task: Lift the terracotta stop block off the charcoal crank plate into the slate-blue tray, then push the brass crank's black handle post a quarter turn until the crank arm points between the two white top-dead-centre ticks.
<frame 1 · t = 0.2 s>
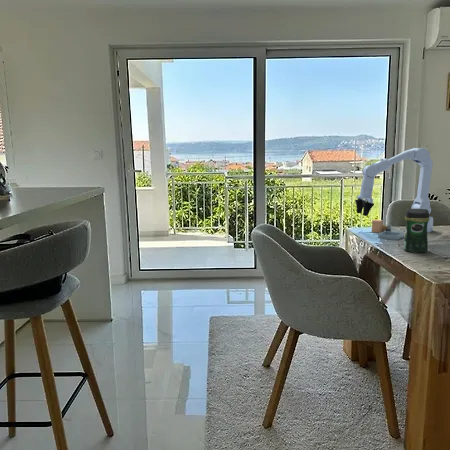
hand: (362, 214, 208), 10 cm above the table, tool pointing down, fingers open, 7 cm apart
crank: (382, 226, 210), point 4 cm above the table, hinge at 0.0°
tray: (390, 239, 195), on the table
stop block: (377, 231, 209), point 1 cm above the table, touching crank plate
coffee jar: (415, 251, 174), on the table
crank plate: (387, 233, 208), on the table
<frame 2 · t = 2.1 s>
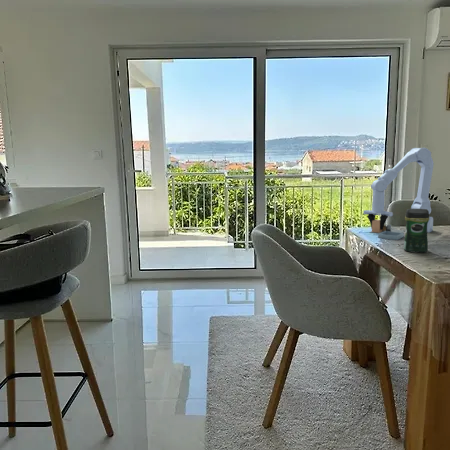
hand: (377, 228, 208), 3 cm above the table, tool pointing down, fingers closed on stop block, 4 cm apart
stop block: (377, 231, 209), point 1 cm above the table, touching crank plate, gripper
everything else where it was.
when the fingers open (4 cm above the table, at t = 5.6 s): stop block drops 2 cm, resting on tray.
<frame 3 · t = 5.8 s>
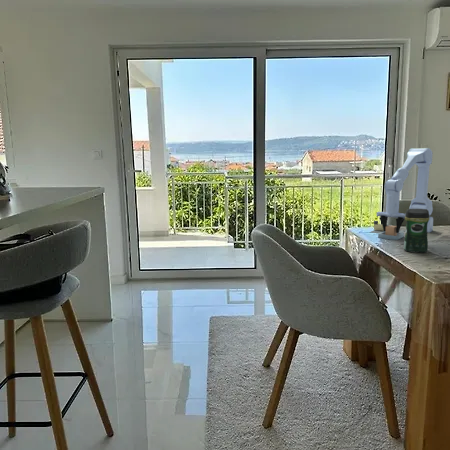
hand: (391, 231, 195), 4 cm above the table, tool pointing down, fingers open, 5 cm apart
stop block: (390, 238, 195), point 1 cm above the table, touching tray
everything else where it was.
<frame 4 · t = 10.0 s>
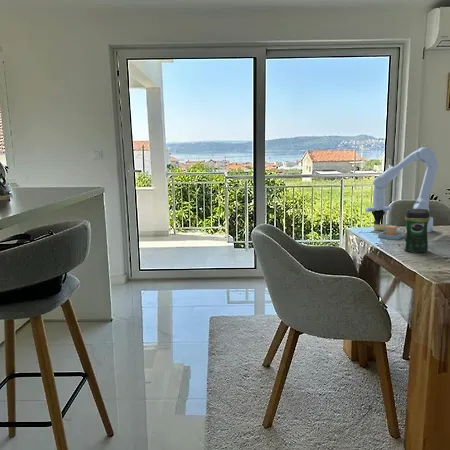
hand: (377, 224, 214), 4 cm above the table, tool pointing down, fingers closed
crank: (382, 226, 210), point 4 cm above the table, hinge at 0.0°, touching gripper
everything else where it was.
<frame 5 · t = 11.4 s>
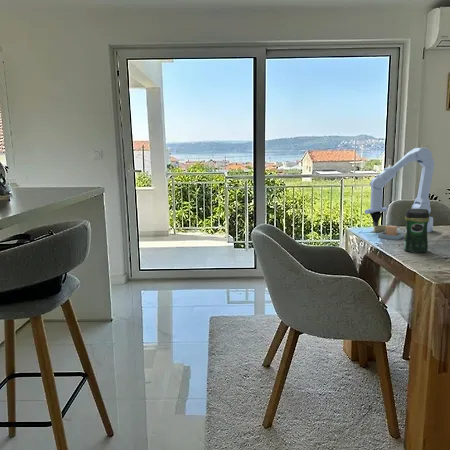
hand: (375, 226, 210), 4 cm above the table, tool pointing down, fingers closed, pressing on crank
crank: (382, 226, 208), point 4 cm above the table, hinge at 41.3°, touching gripper
everything else where it was.
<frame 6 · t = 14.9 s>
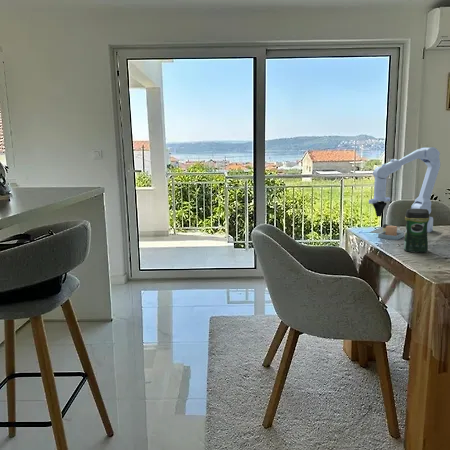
hand: (378, 216, 207), 9 cm above the table, tool pointing down, fingers closed
crank: (386, 227, 205), point 4 cm above the table, hinge at 96.2°
everything else where it was.
at the end: stop block 0.1 cm off-centre on the tray, point 0.6 cm above the tray's base; crank at +96° (first picture: +0°); the gripper is holding nothing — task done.
